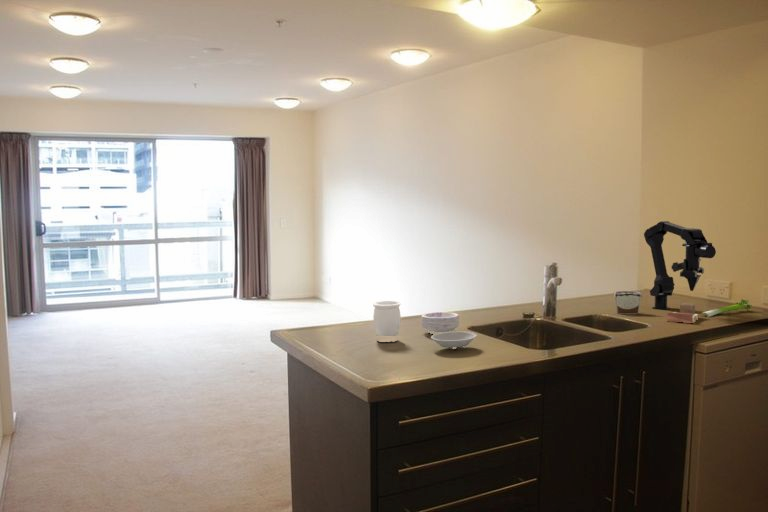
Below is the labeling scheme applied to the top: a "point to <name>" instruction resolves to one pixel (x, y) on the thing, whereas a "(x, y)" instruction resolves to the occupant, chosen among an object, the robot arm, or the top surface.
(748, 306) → the leek
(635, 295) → the food container
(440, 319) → the paper bowls
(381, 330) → the jar
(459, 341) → the dish
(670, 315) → the channel
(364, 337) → the top surface
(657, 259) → the robot arm
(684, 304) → the block
